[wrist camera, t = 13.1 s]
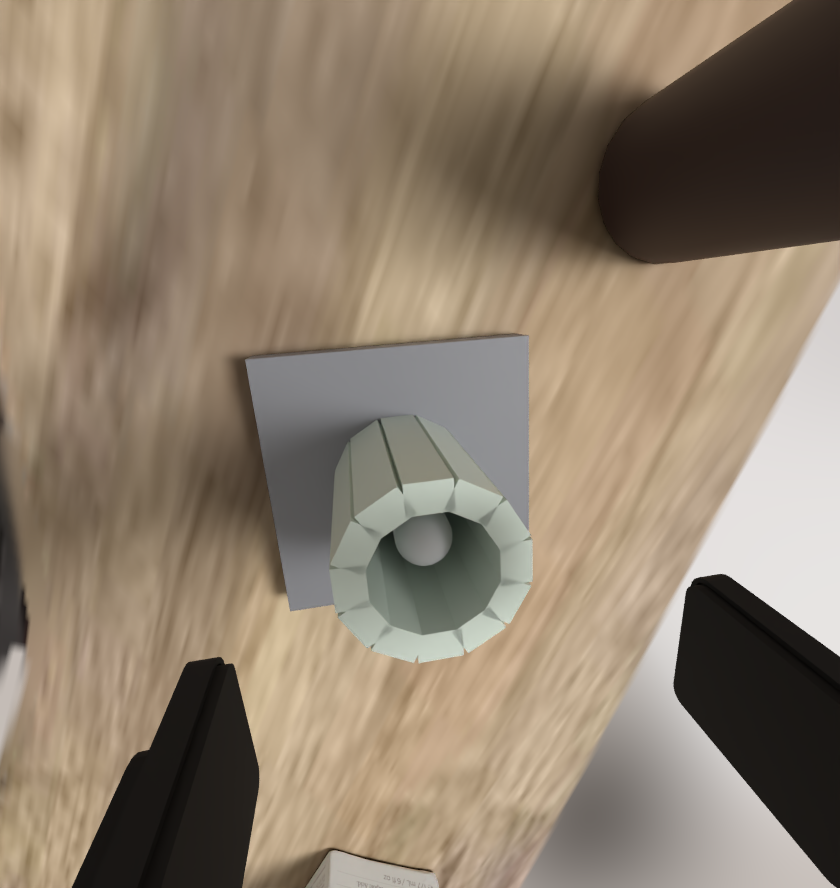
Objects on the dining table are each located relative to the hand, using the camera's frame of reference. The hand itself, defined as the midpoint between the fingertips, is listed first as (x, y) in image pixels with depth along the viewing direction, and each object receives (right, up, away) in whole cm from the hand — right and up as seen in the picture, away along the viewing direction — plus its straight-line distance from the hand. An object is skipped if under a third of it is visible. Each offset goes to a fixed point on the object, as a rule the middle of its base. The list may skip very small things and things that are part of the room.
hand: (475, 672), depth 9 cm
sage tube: (-2, +3, +12) cm, 12 cm away
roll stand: (-2, +3, +13) cm, 14 cm away
